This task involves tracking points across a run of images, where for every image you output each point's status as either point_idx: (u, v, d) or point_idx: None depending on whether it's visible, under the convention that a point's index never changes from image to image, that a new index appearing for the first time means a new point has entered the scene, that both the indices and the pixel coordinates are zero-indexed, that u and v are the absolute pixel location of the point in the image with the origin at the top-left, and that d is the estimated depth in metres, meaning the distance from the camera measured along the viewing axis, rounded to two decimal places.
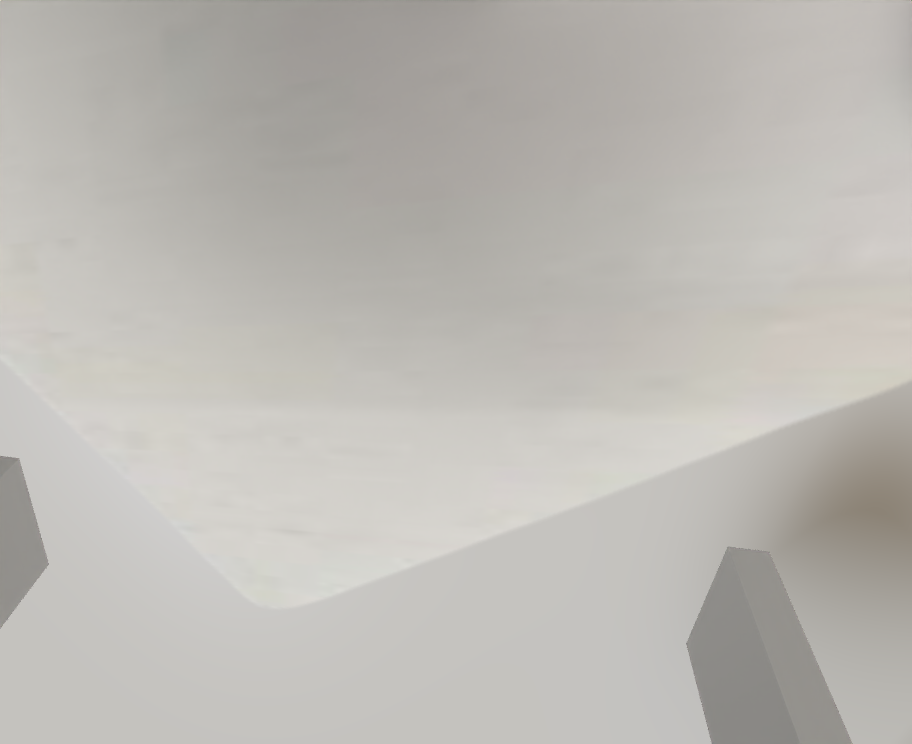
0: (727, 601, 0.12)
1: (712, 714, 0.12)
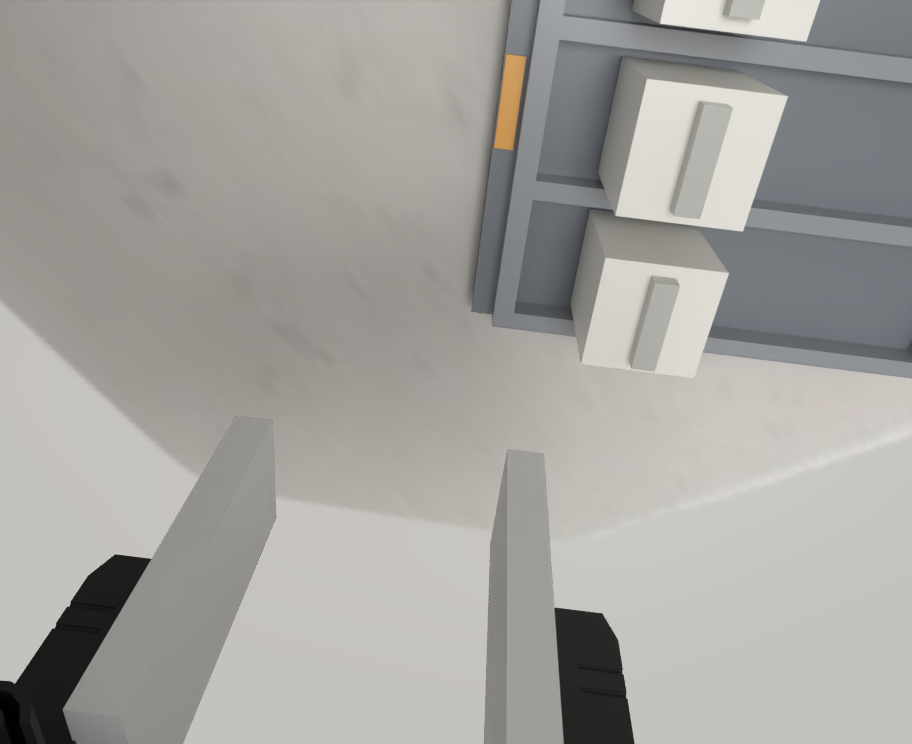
0: (502, 495, 0.14)
1: (490, 594, 0.14)
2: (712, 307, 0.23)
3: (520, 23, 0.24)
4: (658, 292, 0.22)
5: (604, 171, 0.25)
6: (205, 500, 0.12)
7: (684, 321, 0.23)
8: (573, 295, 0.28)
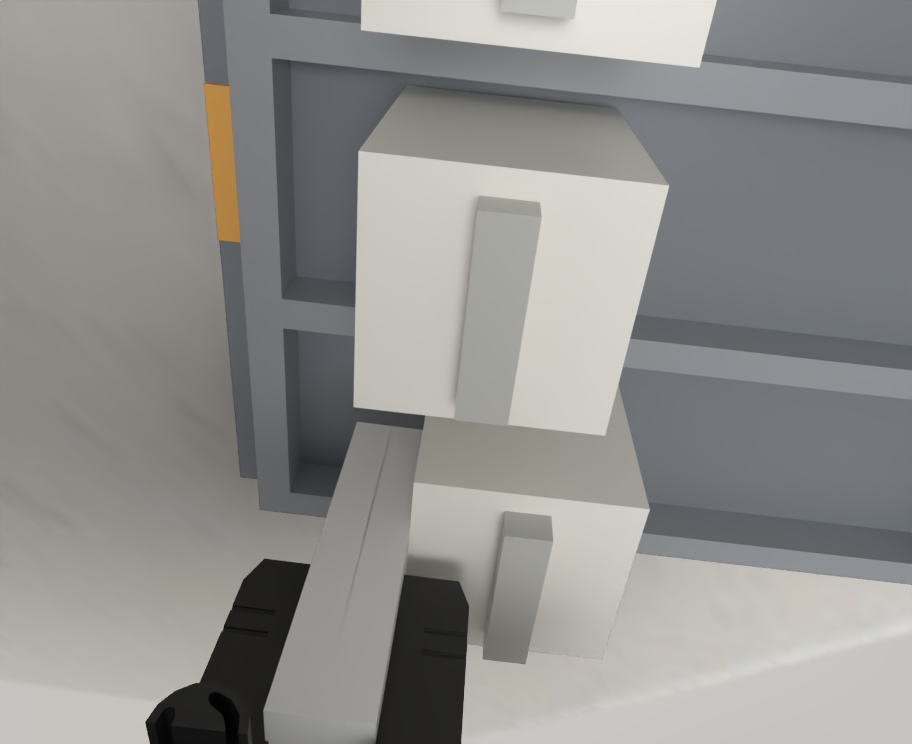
0: None
1: None
2: (623, 560, 0.12)
3: (220, 28, 0.13)
4: (513, 550, 0.12)
5: None
6: (348, 505, 0.12)
7: (574, 580, 0.13)
8: None
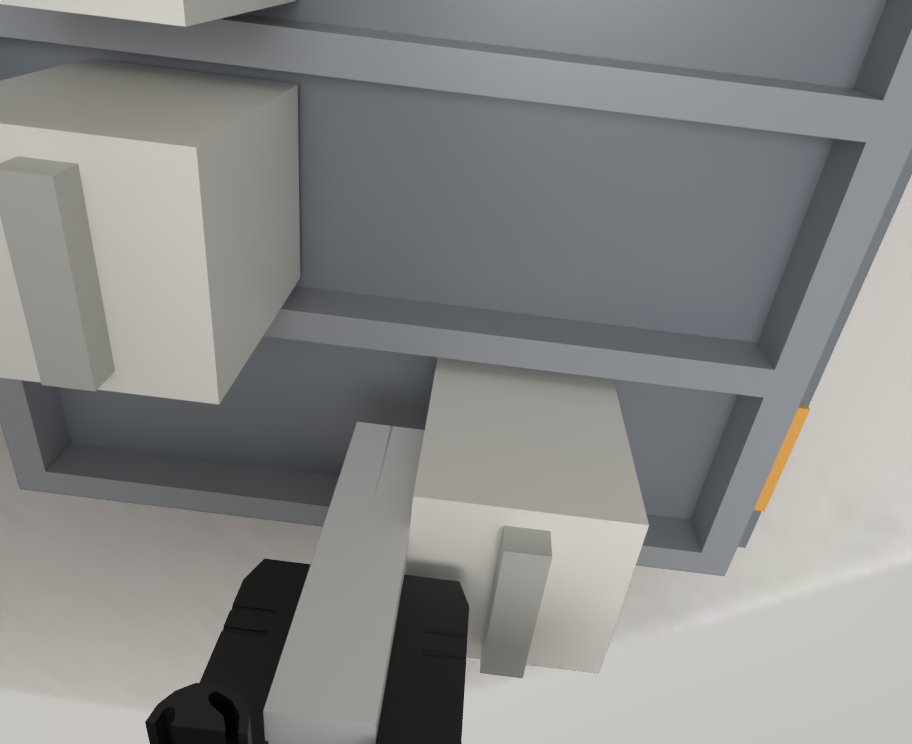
0: None
1: None
2: (622, 576, 0.12)
3: None
4: (512, 565, 0.12)
5: None
6: (348, 505, 0.12)
7: (573, 594, 0.13)
8: None
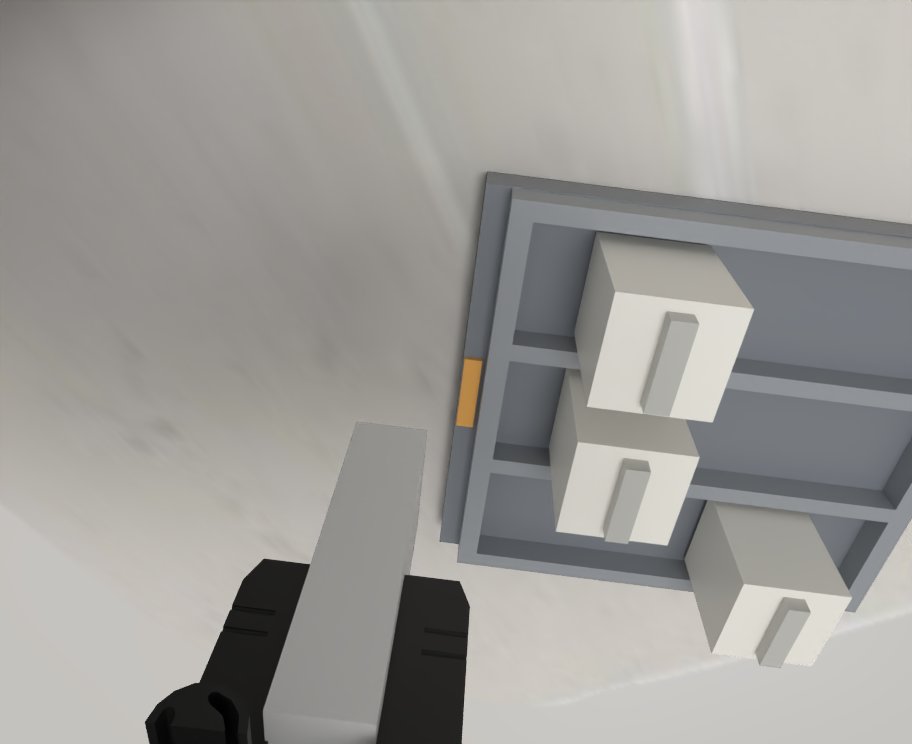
0: None
1: None
2: (834, 619, 0.26)
3: (476, 335, 0.27)
4: (791, 616, 0.25)
5: (552, 458, 0.28)
6: (347, 505, 0.12)
7: (808, 628, 0.26)
8: (689, 557, 0.31)
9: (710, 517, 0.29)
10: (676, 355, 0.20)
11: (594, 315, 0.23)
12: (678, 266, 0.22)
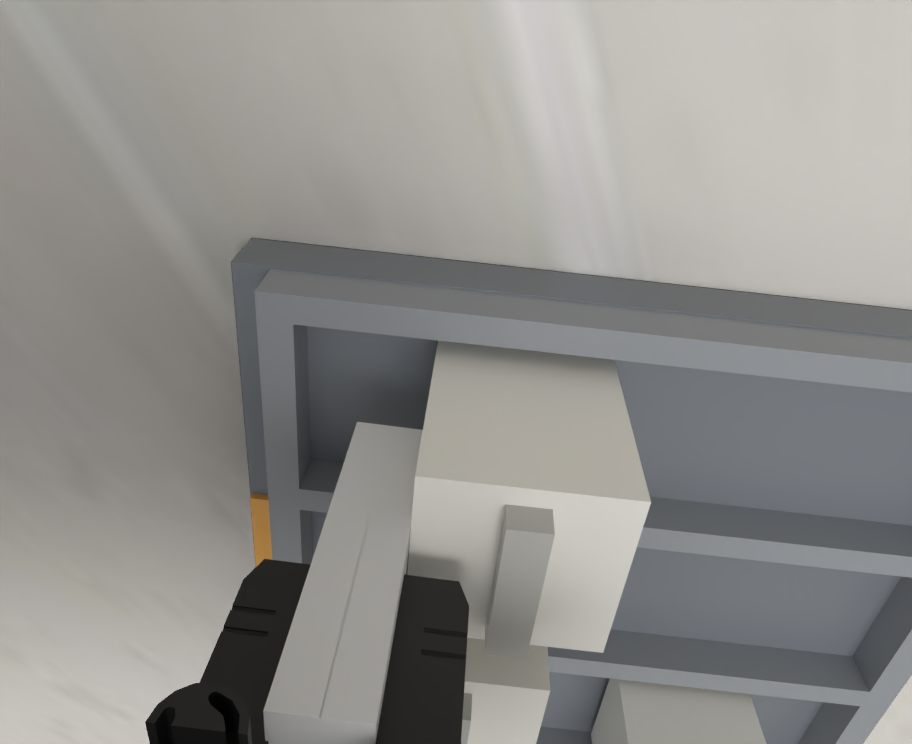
0: None
1: None
2: None
3: (262, 467, 0.19)
4: None
5: None
6: (347, 505, 0.12)
7: None
8: (595, 735, 0.23)
9: (614, 696, 0.21)
10: (523, 577, 0.12)
11: None
12: (546, 404, 0.14)
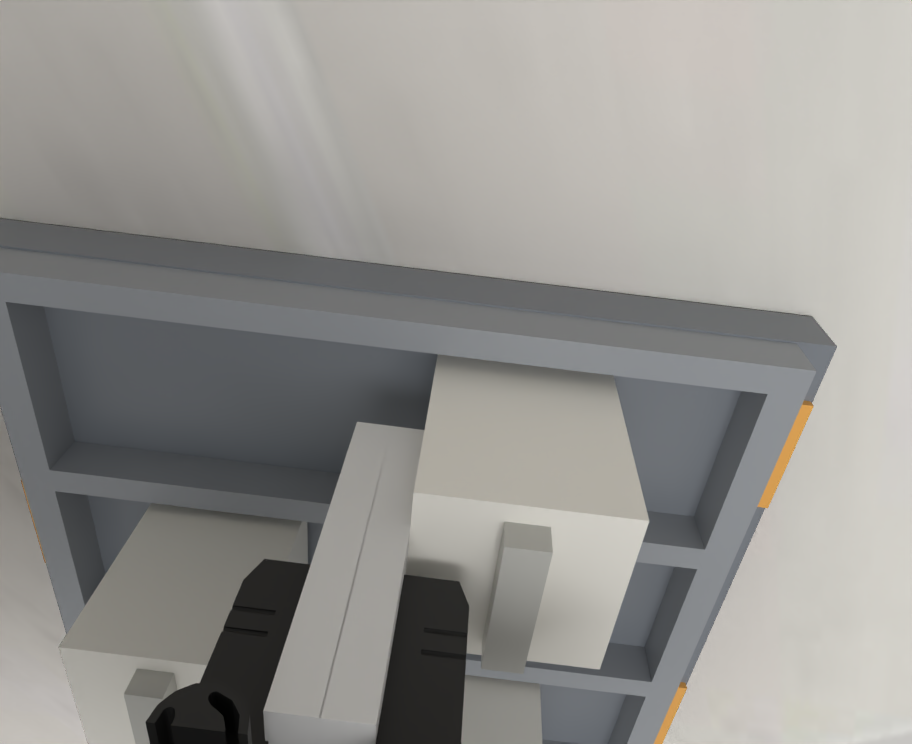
0: None
1: None
2: None
3: None
4: None
5: None
6: (347, 505, 0.12)
7: None
8: None
9: None
10: (521, 594, 0.12)
11: None
12: (546, 420, 0.14)
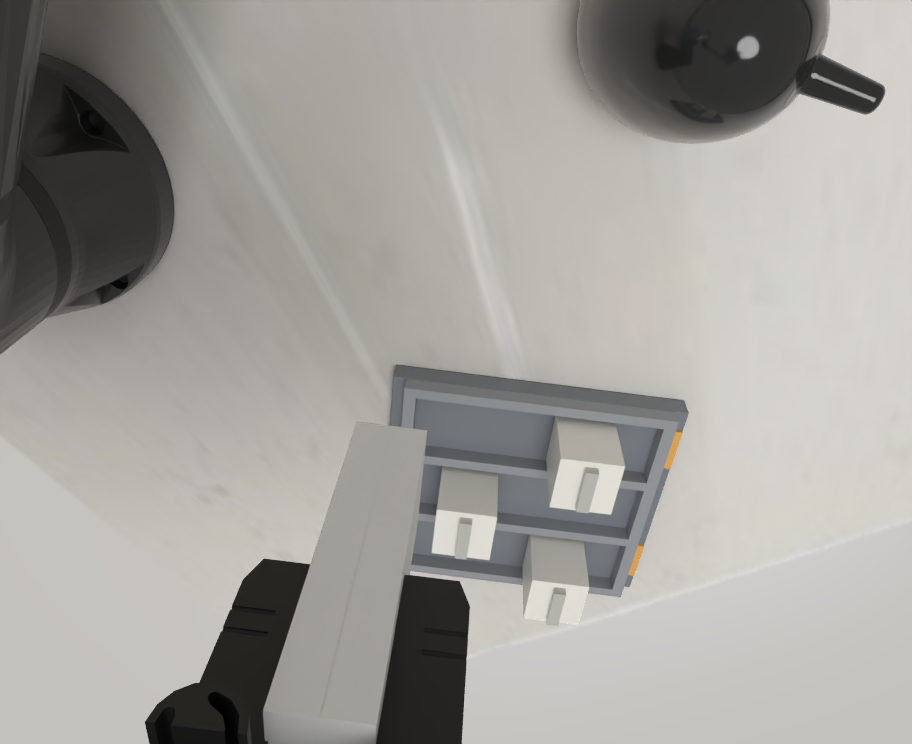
0: None
1: None
2: (583, 599, 0.49)
3: None
4: (556, 597, 0.48)
5: None
6: (347, 505, 0.12)
7: (571, 603, 0.49)
8: (523, 565, 0.54)
9: (529, 543, 0.52)
10: (589, 487, 0.43)
11: (553, 460, 0.46)
12: (594, 438, 0.45)
